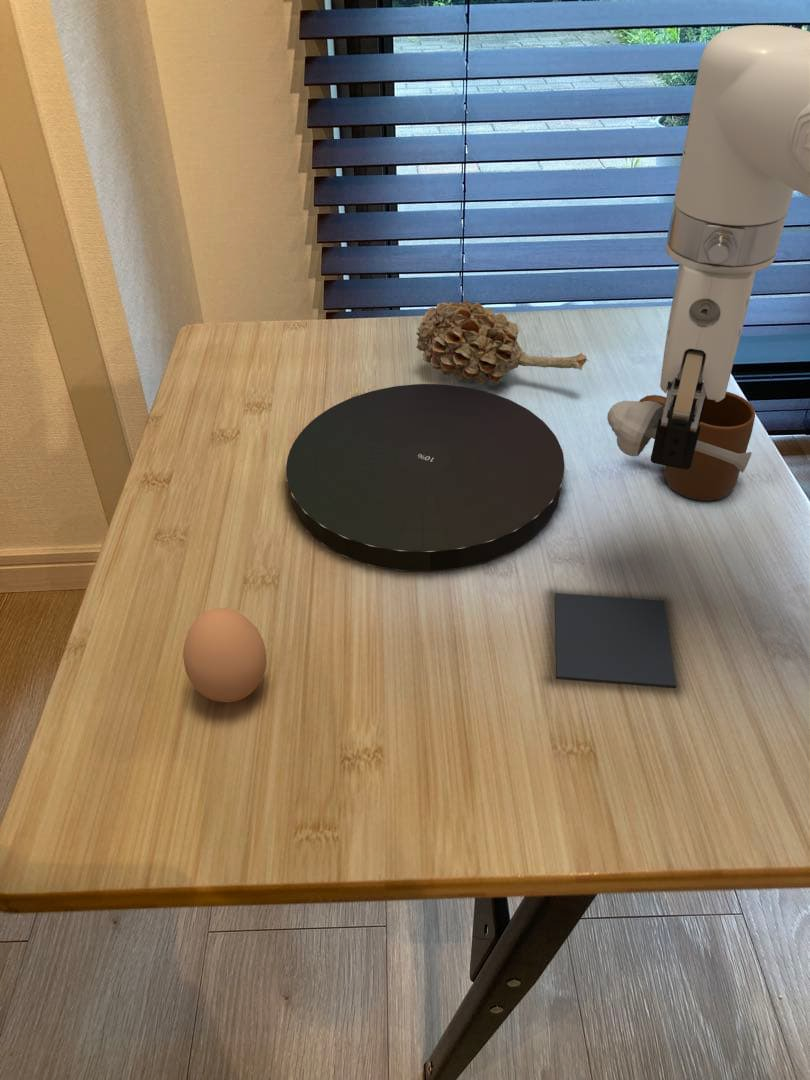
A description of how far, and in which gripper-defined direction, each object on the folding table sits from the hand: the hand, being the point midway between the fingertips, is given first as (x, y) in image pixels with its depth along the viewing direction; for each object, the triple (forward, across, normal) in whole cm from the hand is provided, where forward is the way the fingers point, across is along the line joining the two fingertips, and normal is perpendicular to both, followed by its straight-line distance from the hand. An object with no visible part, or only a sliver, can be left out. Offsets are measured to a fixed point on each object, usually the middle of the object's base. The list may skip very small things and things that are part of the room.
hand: (675, 440), depth 71 cm
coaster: (+15, -10, +2) cm, 18 cm away
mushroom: (+1, 0, 0) cm, 1 cm away
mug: (+16, +16, -1) cm, 23 cm away
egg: (+16, -26, +31) cm, 43 cm away
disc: (+16, +7, +25) cm, 30 cm away
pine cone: (+16, +29, +23) cm, 40 cm away
